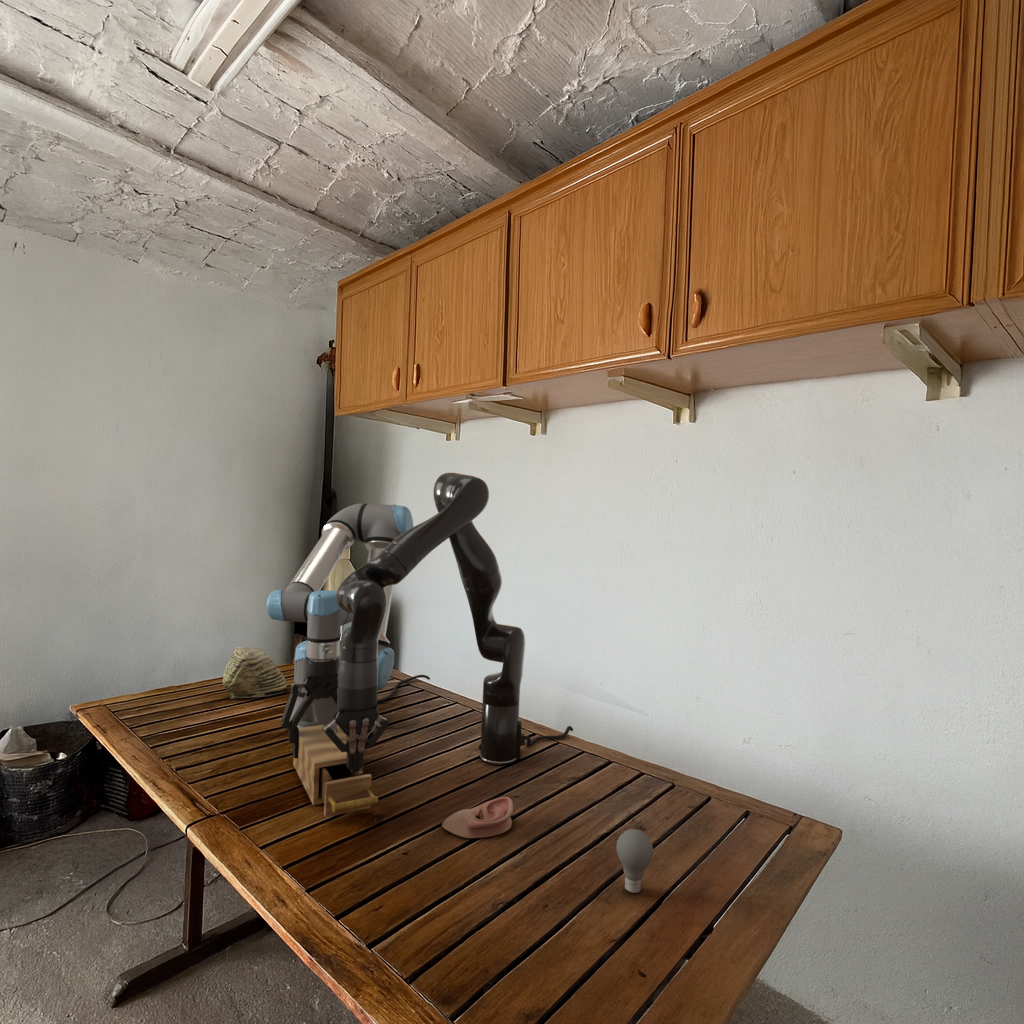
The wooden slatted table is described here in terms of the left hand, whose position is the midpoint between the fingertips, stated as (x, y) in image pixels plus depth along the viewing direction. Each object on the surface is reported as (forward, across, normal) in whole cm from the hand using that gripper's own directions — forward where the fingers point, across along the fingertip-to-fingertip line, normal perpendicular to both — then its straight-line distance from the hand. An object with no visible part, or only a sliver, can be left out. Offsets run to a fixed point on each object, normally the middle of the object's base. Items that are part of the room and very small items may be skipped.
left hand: (319, 752), depth 148 cm
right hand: (-7, 0, -29) cm, 30 cm away
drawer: (+2, 0, -19) cm, 19 cm away
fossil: (+4, -6, +61) cm, 62 cm away
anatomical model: (+4, +22, -39) cm, 45 cm away
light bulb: (+4, +36, -69) cm, 78 cm away
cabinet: (+4, 0, -7) cm, 8 cm away
